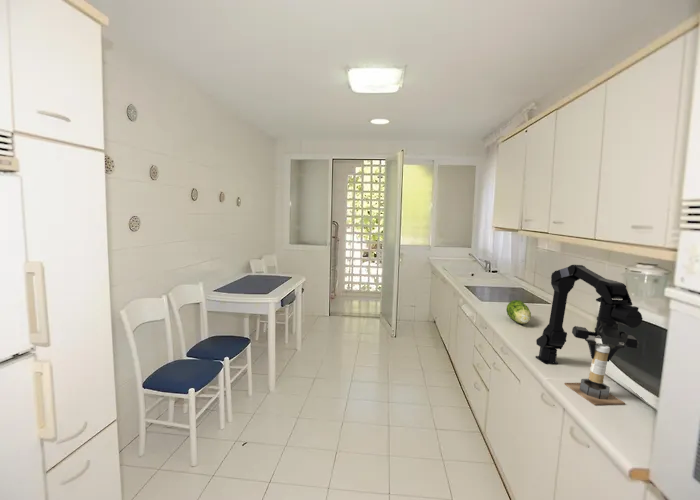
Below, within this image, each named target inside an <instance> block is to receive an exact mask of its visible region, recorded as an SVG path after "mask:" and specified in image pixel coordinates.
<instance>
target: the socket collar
mask: <svg viewBox="0 0 700 500" xmlns="http://www.w3.org/2000/svg"><path fill="white" fill-rule="evenodd" d="M580 383H581V384H580V389H579V390H580V391H582V392H583V393H585V394H586V395H588V396H591V397H594V398H597V399H608V397H609V393H610V392H611V391H610V388H611V387H610V386H609V385H608V384H605V383H604V382H603V383H601V384H600V383H595V382H592V381H591V380H589V378H581V379H580Z"/></svg>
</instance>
